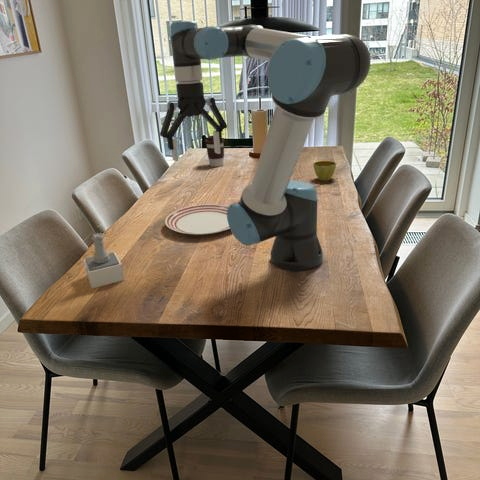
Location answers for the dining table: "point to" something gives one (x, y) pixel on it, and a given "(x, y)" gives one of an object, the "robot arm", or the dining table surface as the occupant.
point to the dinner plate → (199, 219)
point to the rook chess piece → (100, 249)
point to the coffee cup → (213, 157)
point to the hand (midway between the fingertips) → (196, 156)
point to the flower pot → (324, 169)
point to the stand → (104, 271)
